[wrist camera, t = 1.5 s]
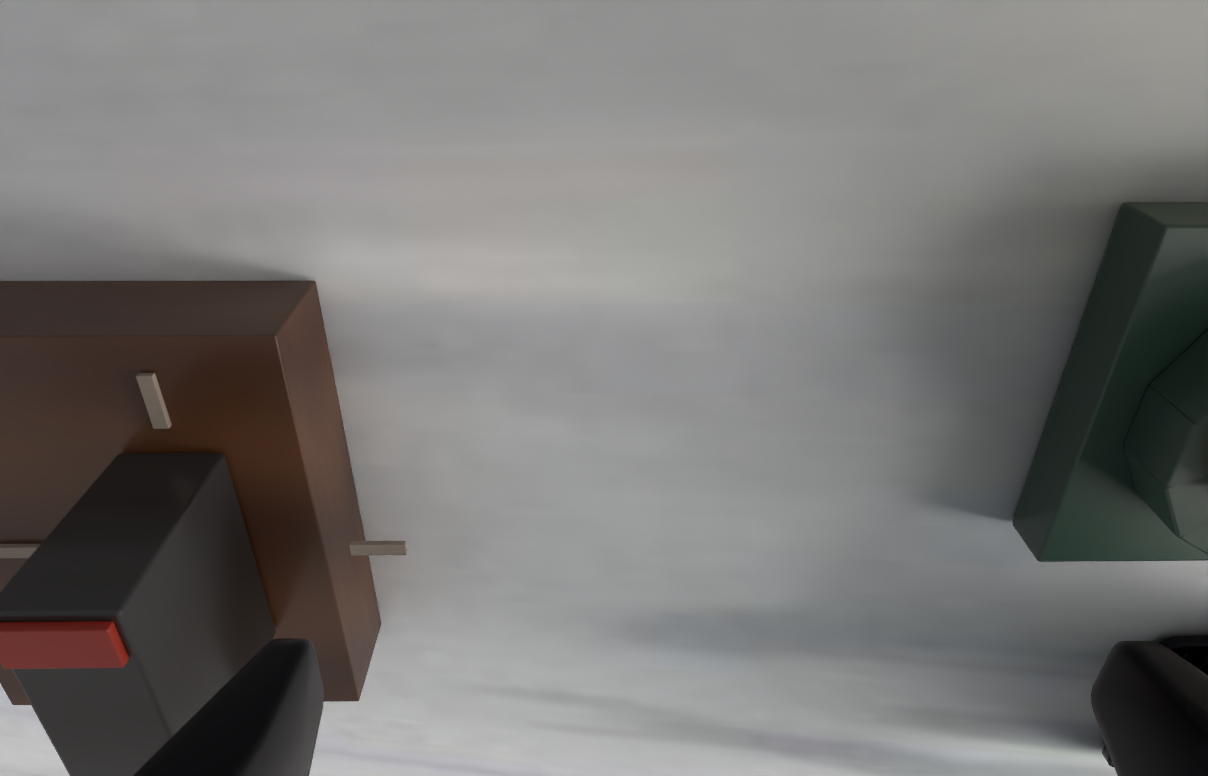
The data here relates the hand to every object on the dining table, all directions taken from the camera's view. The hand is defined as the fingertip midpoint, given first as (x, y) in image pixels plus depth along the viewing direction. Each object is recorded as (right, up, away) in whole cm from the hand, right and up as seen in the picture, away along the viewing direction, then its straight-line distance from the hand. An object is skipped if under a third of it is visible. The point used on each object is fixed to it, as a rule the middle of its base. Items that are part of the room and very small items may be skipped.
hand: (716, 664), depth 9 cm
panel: (-12, +1, +14) cm, 19 cm away
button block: (+16, +3, +13) cm, 20 cm away
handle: (-11, -1, +11) cm, 16 cm away
